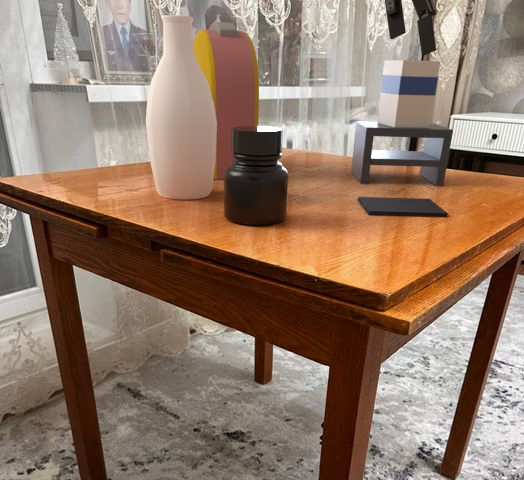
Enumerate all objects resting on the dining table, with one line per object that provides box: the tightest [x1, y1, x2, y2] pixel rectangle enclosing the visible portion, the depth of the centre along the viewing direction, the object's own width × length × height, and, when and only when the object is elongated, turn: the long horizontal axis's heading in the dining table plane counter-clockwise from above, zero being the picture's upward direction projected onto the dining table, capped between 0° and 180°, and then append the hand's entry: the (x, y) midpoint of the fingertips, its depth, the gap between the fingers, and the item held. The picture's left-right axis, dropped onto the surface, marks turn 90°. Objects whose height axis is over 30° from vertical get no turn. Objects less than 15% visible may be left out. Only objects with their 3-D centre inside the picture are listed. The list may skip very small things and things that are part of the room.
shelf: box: [350, 120, 454, 187], centre depth 107 cm, size 16×12×10 cm
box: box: [376, 59, 441, 128], centre depth 102 cm, size 7×9×11 cm
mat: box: [357, 196, 449, 218], centre depth 86 cm, size 12×10×1 cm
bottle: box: [145, 14, 217, 201], centre depth 85 cm, size 11×11×25 cm
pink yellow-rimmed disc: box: [193, 21, 260, 180], centre depth 107 cm, size 21×9×26 cm, turn 17°
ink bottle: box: [223, 125, 289, 226], centre depth 75 cm, size 10×9×12 cm
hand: (414, 44), depth 100 cm, fingers open, 13 cm apart
